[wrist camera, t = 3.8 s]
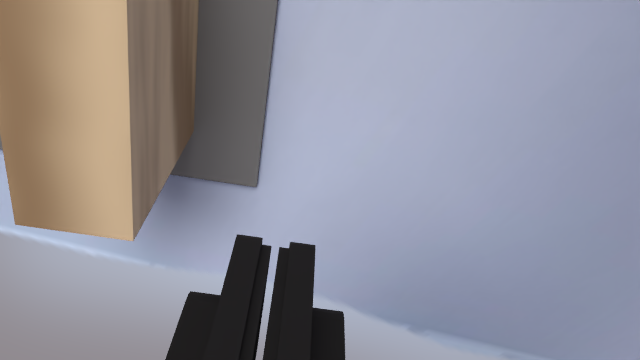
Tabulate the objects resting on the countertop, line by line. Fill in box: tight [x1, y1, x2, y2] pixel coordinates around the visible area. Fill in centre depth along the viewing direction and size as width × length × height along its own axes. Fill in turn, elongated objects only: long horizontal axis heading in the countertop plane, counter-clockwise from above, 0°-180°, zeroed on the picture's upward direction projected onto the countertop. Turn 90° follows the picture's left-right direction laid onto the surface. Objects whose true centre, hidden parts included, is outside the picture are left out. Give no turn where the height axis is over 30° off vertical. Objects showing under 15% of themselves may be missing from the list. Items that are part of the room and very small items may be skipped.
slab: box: [0, 0, 199, 241], centre depth 22 cm, size 4×12×10 cm, turn 171°
